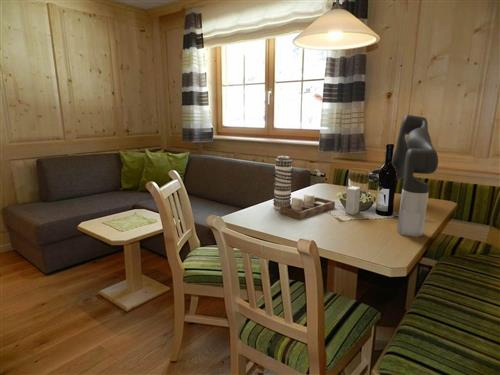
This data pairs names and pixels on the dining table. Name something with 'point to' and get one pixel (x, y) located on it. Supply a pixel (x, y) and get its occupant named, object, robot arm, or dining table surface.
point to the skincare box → (352, 200)
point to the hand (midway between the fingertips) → (366, 179)
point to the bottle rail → (308, 210)
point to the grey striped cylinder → (282, 181)
